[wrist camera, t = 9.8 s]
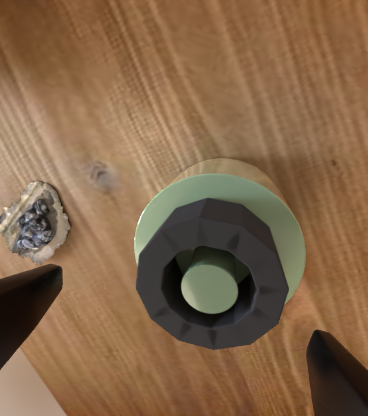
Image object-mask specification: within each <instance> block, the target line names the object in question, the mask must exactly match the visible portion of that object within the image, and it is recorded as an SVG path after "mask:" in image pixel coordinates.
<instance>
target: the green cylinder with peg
mask: <svg viewBox="0 0 368 416" xmlns="http://www.w3.org/2000/svg"><path fill="white" fill-rule="evenodd" d="M204 198H212V199H217V200H223V201H228V202H233V203H239V204H242V205H244V206H245V207H246V208H247V209H249V210H250V211H251V212H252V213H253V214H255V215H256V216H257V217H258V218H259V219H261V220H262V221H263V222H264V223H266V224H267V225H268V226H269V227H270V230H271V233H272V236H273V239H274V242H275V245H276V248H277V251H278V254H279V257H280V261H281V264H282V267H283V270H284V274H285V277H286V280H287V283H288V287H289V292H288V295H287V298H286V301H285V304H286V303H287V301H288V300H289V299H290V298H291V297H292V295H293V294H294V292H295V291H296V289H297V288H298V286H299V283H300V281H301V279H302V276H303V272H304V269H305V262H306V247H305V241H304V236H303V233H302V230H301V228H300V225H299V223H298V221H297V219H296V218H295V216H294V214H293V212H292V211H291V209H290V207H289V206H288V204H287V202H286V201H285V199H284V197H283V196H282V194H281V192H280V191H279V189H278V187H277V186H276V185H275V183H274V182H273V181H272V180H271V179H270V178H269V177H268V176H267V175H266V174H265V173H264V172H262V171H261V170H260V169H258V168H256V167H255V166H253V165H251V164H248V163H246V162H243V161H240V160H235V159H228V158H215V159H209V160H205V161H201V162H198V163H196V164H194V165H192V166H190V167H188V168H187V169H185V170H184V171H183V172H181V173H180V174H179V175H178V176H177V177H176V178H175V179H173V180H172V181H171V182H170V183H169V184H168V185H167V186H166V187H165V188H163V189H162V190H161V191H160V192H159V193H158V194H157V195H156V196H155V197H154V198H153V199H152V200H151V201H150V202H149V203H148V205H147V206H146V208H145V209H144V211H143V213H142V215H141V217H140V219H139V221H138V224H137V228H136V232H135V238H134V251H135V259H136V263H137V267H138V258H139V254H140V253H141V251H142V250H143V249H144V247H145V246H146V244H147V243H148V242H149V240H150V239H151V238H152V236H153V235H154V234H155V232H156V231H157V230H158V229H159V227H160V226H161V225H162V224H163V223H164V221H165V220H166V219H167V218H168V217H169V215H170V214H171V213H172V212H173V211H174V209H175V208H177V207H180V206H183V205H186V204H189V203H192V202H195V201H198V200H201V199H204ZM175 259H176V261H177V263H178V266H179V268H180V270H181V272H182V275H184V276H183V279H182V283H181V290H182V294H183V296H184V298H185V300H186V301H187V302H188V304H189V305H191V306H192V307H193V308H195V309H196V310H198V311H201V312H204V313H210V314H216V313H221V312H224V311H226V310H228V309H229V308H231V307H232V306H233V304H234V303H235V301H236V300H237V297H238V284H239V283H240V282H241V281H242V280H243V279H244V278H246V277H247V276H248V275H249V272H250V269H249V267H248V266H247V265H245V264H244V263H243V262H242V261H241V260H239V259H238V258H237V257H236V256H234V255H233V254H232V253H231V252H229V251H226V250H222V249H217V248H212V247H208V246H203V245H202V246H199V247H195V248H191V249H188V250H184V251H181V252H179V253H178V254H177V255H176V258H175Z"/></svg>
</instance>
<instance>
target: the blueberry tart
mask: <svg viewBox="0 0 368 416" xmlns="http://www.w3.org/2000/svg"><path fill="white" fill-rule="evenodd" d="M27 185H28V189H26V188H25V189H26V190H25V191H24V192H23V193H21V195H22V196H21V202H19V203H18V204H15V202H14V200H13V199H12V200H13V204H14V205H13V206H12V205H11V206H12V207H10V209H8V207H3V208H4V210H6V212H4V213H3V214H2V215H1V216H0V232H1V234H2V236H3V237H5V238H6V241H5V242H8V243H9V244H8V249H9V251H11V252H12V253H19V254H18V255H19V256H20V257H23V258H24V256H25V257H27V256H29V257H30V258H31V260H32V261H33V262H35V263H36V265H37V264H38V263H40V265H41V264H42V261H43V260H46V259H48V258H50V257H51V256H52V254H54V250H55V249H56V248H58V249H59V246H60V244H63V243H64V242H65V240H66V234H68V230H70V228H71V226H70V225H69V222H68V220H67V219H68V216H66V213H62V211H63V210H62V209H63V207H62V206H61V203H60V200H59V199H58V194H57V192H56V191H54V190H53V189H54V188H53V187H51V185H48V184H47V183H44V184H43V183H41V182H39V181H37V182H36V183H35V182H34V183H30V184H27ZM52 241H53V242H52Z"/></svg>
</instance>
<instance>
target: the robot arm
mask: <svg viewBox="0 0 368 416" xmlns="http://www.w3.org/2000/svg"><path fill="white" fill-rule="evenodd" d="M62 285H63V279H62V267H61V266H58V265H54V264H48V265H45V266H41V267H38V268H35V269H32V270H28V271H25V272H22V273H18V274H15V275H12V276H9V277H5V278H2V279H0V370H1V368H2V367H3V366H4V365H5V363H6V362H7V361H8V360H9V359H10V358H11V356H12V355H13V354H14V353H15V351H16V350H17V349H18V348H19V347H20V346H21V344H22V343H23V342H24V341H25V340H26V338H27V337H28V336H29V335H30V334H31V332H32V331H33V330H34V329H35V327H36V326H37V325H38V323H39V322H40V320H41V319H42V318H43V316H44V315H45V313H46V312H47V310H48V309H49V307H50V306H51V304H52V303H53V302H54V300H55V299H56V297H57V296H58V294H59V293H60V291H61V289H62ZM306 357H307V365H308V373H309V381H310V388H311V396H312V403H313V409H314V414H315V416H368V370H367V369H366V368H365V367H364V366H363V365H362V364H361V363H360V362H359V361H358V360H357V359H356V358H355V357H354V356H353V355H352V354H351V353H350V352H349V351H348V350H347V349H345V348H344V347H343V346H342V345H341V344H340V343H339V342H338V341H337V340H336V339H335V338H334V337H333V336H332V335H331V334H330V333H329V332H325V331H321V330H315V331H314V332H313V334H312V337H311V339H310V342H309V344H308V347H307V351H306Z"/></svg>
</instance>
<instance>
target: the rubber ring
mask: <svg viewBox="0 0 368 416" xmlns="http://www.w3.org/2000/svg"><path fill="white" fill-rule="evenodd" d="M202 245H203V246H208V247H212V248H217V249H222V250H226V251H229V252H231V253H232V254H233V255H234V256H236V257H237V258H238V259H239V260H241V261H242V262H243V263H244V264H245V265H247V266H248V267H249V269H250V272H249V275H248V276H247V277H246V278H244V279H243V280H242V281H241V282H240V283H239V284H238V297H237V300H236V301H235V303H234V304H233V306H232V307H231V308H229V309H228V310H226V311H224V312H221V313H216V314H210V313H204V312H201V311H198V310H196V309H195V308H193V307H192V306H191V305H189V304H188V302H187V301H186V300H185V298H184V296H183V294H182V290H181V283H182V279H183V276H184V275H182V272H181V270H180V268H179V266H178V263H177V261H176V259H175V258H176V255H177V254H178V253H179V252H181V251H184V250H188V249H191V248H195V247H199V246H202ZM136 290H137V292H138V294H139V296H140V298H141V300H142V302H143V304H144V306H145V308H146V310H147V312H148V314H149V316H150V318H151V319H152V320H153V321H154V322H156V323H157V324H158V325H160V326H161V327H162V328H163V329H165V330H166V331H167V332H169V333H170V334H171V335H172V336H174V337H175V338H176V339H177V340H179V341H183V342H186V343H190V344H194V345H198V346H201V347H205V348H209V349H212V350H217V349H223V348H230V347H236V346H243V345H250V344H252V343H253V342H254V341H256V340H257V339H258V338H260V337H261V336H262V335H264V334H265V333H266V332H268V331H269V330H270V329H272V328H273V327H274V326H276V325H277V324H278V323H279V319H280V316H281V313H282V310H283V307H284V304H285V301H286V298H287V295H288V292H289V287H288V283H287V280H286V277H285V274H284V270H283V267H282V264H281V261H280V257H279V254H278V251H277V248H276V245H275V242H274V239H273V236H272V233H271V230H270V227H269V226H268V225H267V224H266V223H264V222H263V221H262V220H261V219H259V218H258V217H257V216H256V215H255V214H253V213H252V212H251V211H250V210H249V209H247V208H246V207H245V206H244V205H242V204H239V203H233V202H228V201H223V200H217V199H212V198H204V199H201V200H198V201H195V202H192V203H189V204H186V205H183V206H180V207H177V208H175V209H174V211H173V212H172V213H171V214H170V215H169V217H168V218H167V219H166V220H165V221H164V223H163V224H162V225H161V226H160V227H159V229H158V230H157V231H156V232H155V234H154V235H153V236H152V238H151V239H150V240H149V242H148V243H147V244H146V246H145V247H144V249H143V250H142V251H141V253H140V254H139V258H138V269H137V280H136Z"/></svg>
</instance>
